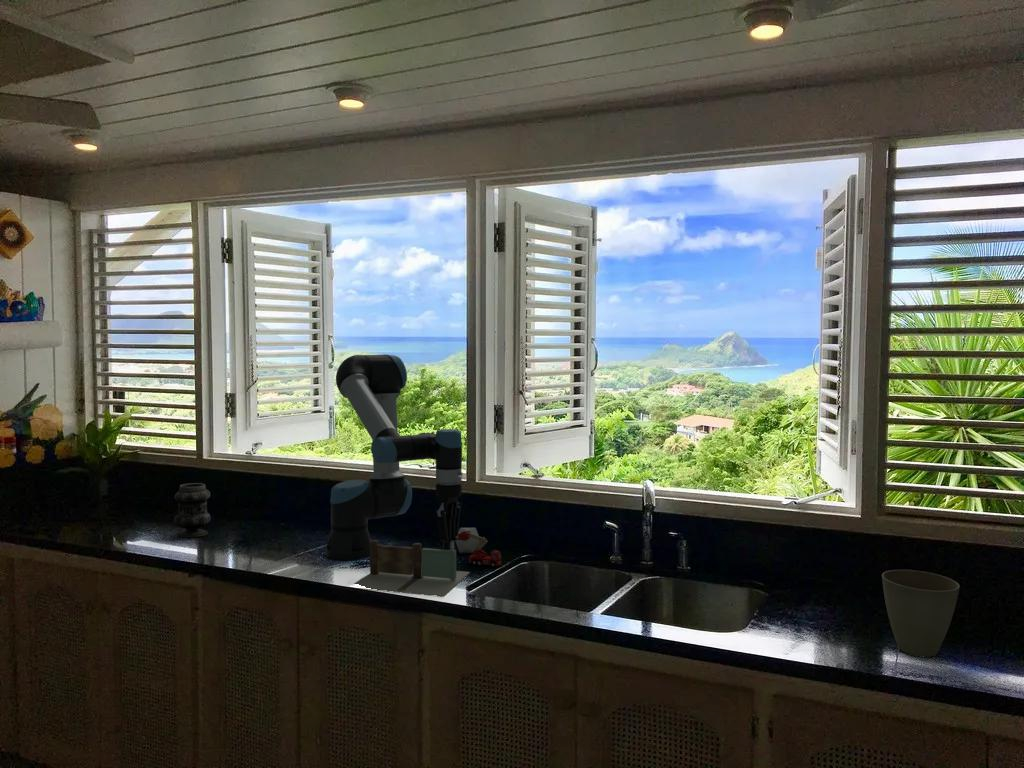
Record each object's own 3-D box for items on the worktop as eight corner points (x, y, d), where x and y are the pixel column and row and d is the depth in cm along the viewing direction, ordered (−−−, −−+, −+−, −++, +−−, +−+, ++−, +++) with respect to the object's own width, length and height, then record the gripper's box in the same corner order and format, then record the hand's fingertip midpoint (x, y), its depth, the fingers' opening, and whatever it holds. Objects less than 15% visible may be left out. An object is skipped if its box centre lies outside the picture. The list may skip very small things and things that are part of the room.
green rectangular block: (421, 577, 211) (421, 548, 210) (423, 575, 213) (423, 547, 212) (454, 580, 208) (454, 551, 208) (456, 578, 210) (456, 549, 210)
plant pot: (884, 659, 157) (886, 585, 156) (876, 634, 171) (878, 566, 170) (964, 670, 152) (966, 593, 151) (950, 643, 165) (952, 573, 165)
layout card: (349, 587, 203) (349, 586, 203) (383, 565, 225) (383, 564, 225) (443, 596, 196) (443, 595, 196) (469, 573, 217) (469, 571, 217)
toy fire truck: (498, 567, 223) (498, 536, 223) (457, 563, 228) (457, 532, 227) (502, 564, 226) (502, 533, 226) (461, 560, 231) (461, 530, 231)
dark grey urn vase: (218, 533, 264) (217, 483, 263) (187, 540, 254) (187, 489, 253) (197, 529, 271) (196, 480, 270) (167, 535, 261) (166, 485, 260)
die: (470, 559, 235) (486, 533, 237) (447, 544, 236) (464, 519, 239) (471, 561, 242) (486, 536, 245) (449, 547, 244) (465, 522, 246)
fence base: (368, 575, 215) (368, 541, 214) (372, 573, 217) (372, 539, 217) (419, 579, 211) (419, 545, 210) (422, 577, 213) (422, 543, 213)
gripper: (450, 487, 206) (450, 570, 207) (470, 480, 218) (470, 558, 219) (426, 485, 208) (426, 567, 209) (447, 478, 221) (447, 555, 221)
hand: (448, 562), depth 214 cm, fingers closed
